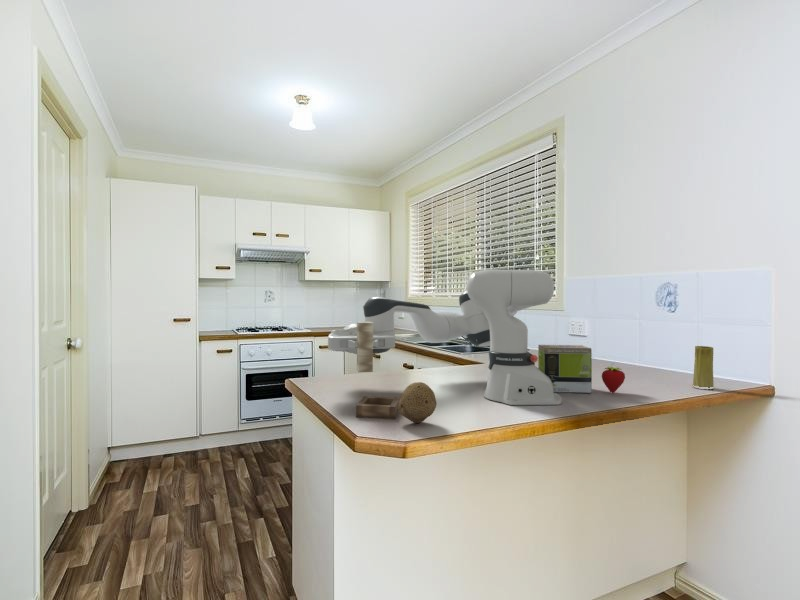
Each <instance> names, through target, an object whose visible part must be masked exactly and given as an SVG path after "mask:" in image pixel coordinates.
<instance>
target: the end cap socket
mask: <svg viewBox="0 0 800 600" xmlns="http://www.w3.org/2000/svg"><path fill="white" fill-rule="evenodd" d="M400 398H401V397H396V396H395V397H393V396H391V397H389V396H370V395H369V396H367V395H365V396H363V397H362V398H361V399H360V400H359V401H358V403H356V407H355V418H365V417H368V418H369V419H370V418H371V419H387V418H389V420H390V419H392V420H395V419H396V418H397V416H398V414H399V412H398V411H399V410H398V403H399V401H400Z"/></svg>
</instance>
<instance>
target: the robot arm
mask: <svg viewBox="0 0 800 600" xmlns="http://www.w3.org/2000/svg"><path fill="white" fill-rule="evenodd" d="M554 292H555V283H554V280H553V278H552V276H551V275H549V273H547V272H544V271H539V270H534V269H483V270H479V271H474V272H472V274H471V275H470V276H469V278H468V279H467V282H466V290H465V291H464V292H461V294H460V295H459V297H458V302H459V306H460V310H461V314H460V313H456V312H446V311H445V312H435V311H433V310H432V309H431V307H430V306H429V305H427V304H424V303H417V302H410V301H405V300H404V301H403V300H396V299H389V298H387V297H385V296H374V297H370V298H369V299H368V300H366V301H365V303H364V305H363V306H362V309H363V315H364V320H365V321H364V322H373V355H375V354H382V353H386V352H388V351H389V350H391V349H395V347H396V335H395V333H396V331H395V317H394V315H395V313H402V314H408V315H409V316H410V317H411V319H412V321H413V323H414V325H415V328H416V332H417V333H418V335H419V336H420V338H421V339H423V340H424V341H425V342H427V343H430V344H439V343H445V342H450V341H454V340H456V339H458V338H460V337H463V336H465V338H464V340H465V341H466V342H469V343H470V344H471V345H473V346H476V347H489V350H488V355H487V367H488V374H487V375H488V376H487V383H486V387H485V390H484V395H483V396H484V398H485V399H487V400H491V401H493V402H498V403H499V402H500V403H504V404H506V405H510V406H514V405H515V406H531V405H532V406H533V405H534V406H535V405H536V406H537V405H539V406H540V405H541V406H542V405H543V406H546V405H548V406H549V405H550V406H552V405H555V406H556V405H557V406H558V405H561V404H562V403H563V402H562V401H563V399H562V397H561V396H560V395H559V394H557V393H556V392H554V389H553V384H552V381H551V380H550V378H549V377H548V376H547V375H545V374H544V373H543V372H542V371H541V370H539V369H538V367H537V366H536V365H535V366H534V365H533V364H534V362H535V363H538V362H537V361H538V355H535V354H532V353H531V352H528V341H529V339H528V337H529V335H528V334H529V330H528V326H527V325H526V323H525V322H524V321H522V320H521V319H519V318H517V317H516V316H515V315H517V313H518V312H519V311H523V310H525V309H529V308H531V307H536V306H541V305H546V304H548V303H549V302H550V301H551V299H552V298H553V296H554ZM357 348H358V341H357V323H350V324H347V325H345V326H344V327H343V328H339V329H333V330H331V331H330V333H329V334H328V337H327V349H328V350H329V351H333V352H343V353H345V352H346V353H349V354H354V355H357Z"/></svg>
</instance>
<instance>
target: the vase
mask: <svg viewBox="0 0 800 600" xmlns="http://www.w3.org/2000/svg"><path fill="white" fill-rule="evenodd" d="M692 381H693V382H692V386H693V385H694V386H699V387H708V388H710V387H714V388H715V386H714V385H715V384H714V347H712V346H708V345H707V346H705V345H703V346H702V345H695V346H694V367H693V379H692Z"/></svg>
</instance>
